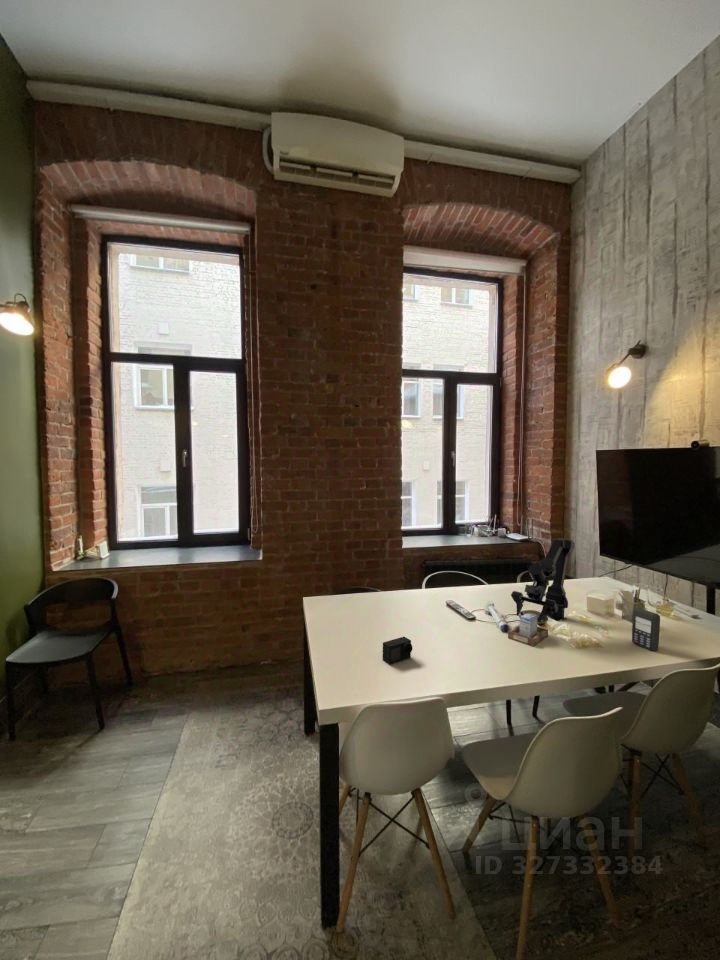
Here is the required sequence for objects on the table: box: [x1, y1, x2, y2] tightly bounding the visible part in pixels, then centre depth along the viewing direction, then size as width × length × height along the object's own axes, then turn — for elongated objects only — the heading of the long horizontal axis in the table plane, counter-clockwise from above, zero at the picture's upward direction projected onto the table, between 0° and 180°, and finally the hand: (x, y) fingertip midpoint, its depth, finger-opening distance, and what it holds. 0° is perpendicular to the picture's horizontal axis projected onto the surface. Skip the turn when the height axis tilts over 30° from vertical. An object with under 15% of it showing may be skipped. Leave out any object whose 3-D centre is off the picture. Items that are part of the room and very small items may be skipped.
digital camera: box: [382, 636, 413, 666], centre depth 152 cm, size 10×5×7 cm, turn 123°
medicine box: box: [519, 612, 539, 638], centre depth 174 cm, size 8×4×9 cm, turn 135°
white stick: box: [483, 600, 510, 633], centre depth 192 cm, size 5×7×25 cm
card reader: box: [631, 607, 661, 652], centre depth 166 cm, size 9×4×15 cm, turn 23°
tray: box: [507, 623, 549, 648], centre depth 174 cm, size 15×11×3 cm
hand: (527, 618), depth 173 cm, fingers open, 9 cm apart
